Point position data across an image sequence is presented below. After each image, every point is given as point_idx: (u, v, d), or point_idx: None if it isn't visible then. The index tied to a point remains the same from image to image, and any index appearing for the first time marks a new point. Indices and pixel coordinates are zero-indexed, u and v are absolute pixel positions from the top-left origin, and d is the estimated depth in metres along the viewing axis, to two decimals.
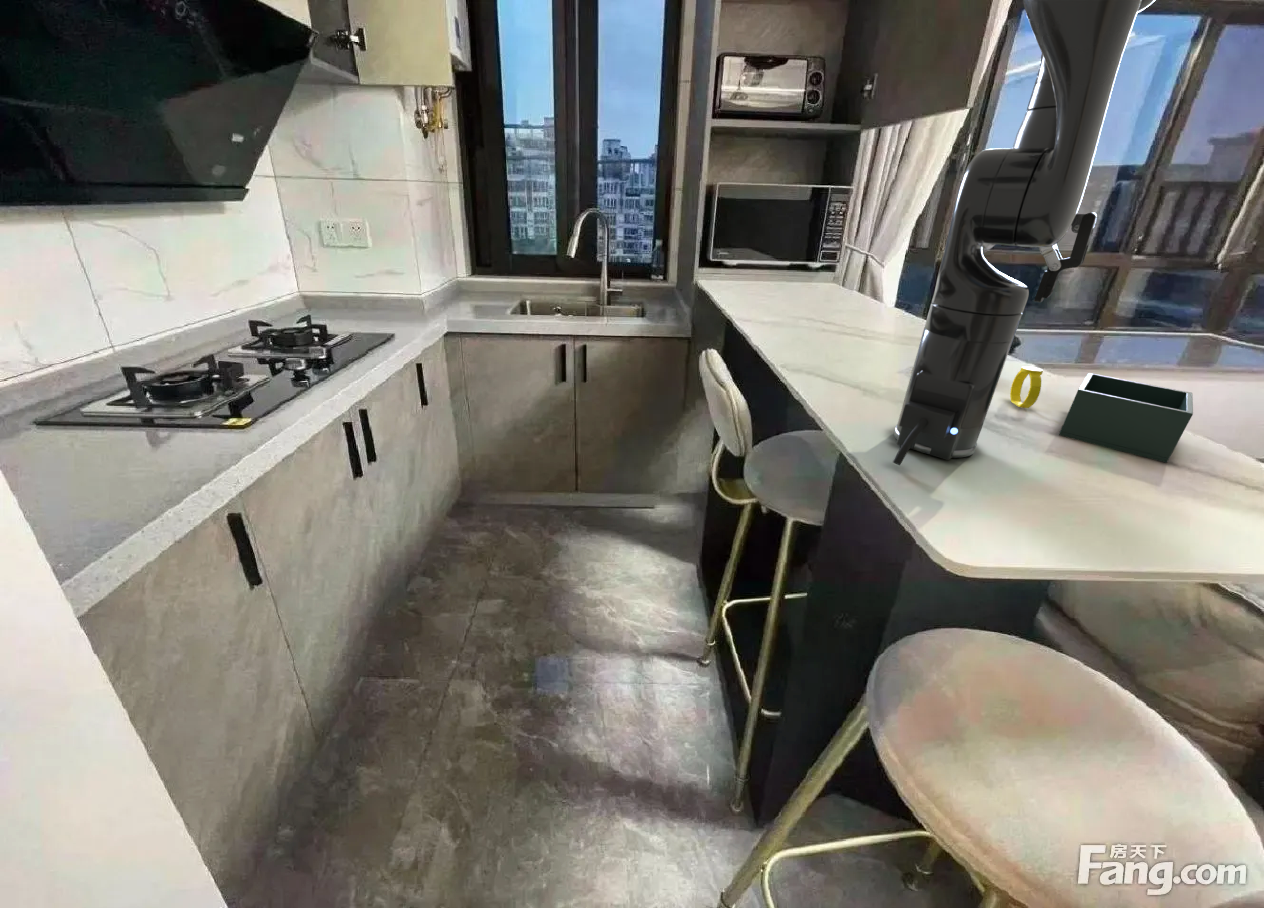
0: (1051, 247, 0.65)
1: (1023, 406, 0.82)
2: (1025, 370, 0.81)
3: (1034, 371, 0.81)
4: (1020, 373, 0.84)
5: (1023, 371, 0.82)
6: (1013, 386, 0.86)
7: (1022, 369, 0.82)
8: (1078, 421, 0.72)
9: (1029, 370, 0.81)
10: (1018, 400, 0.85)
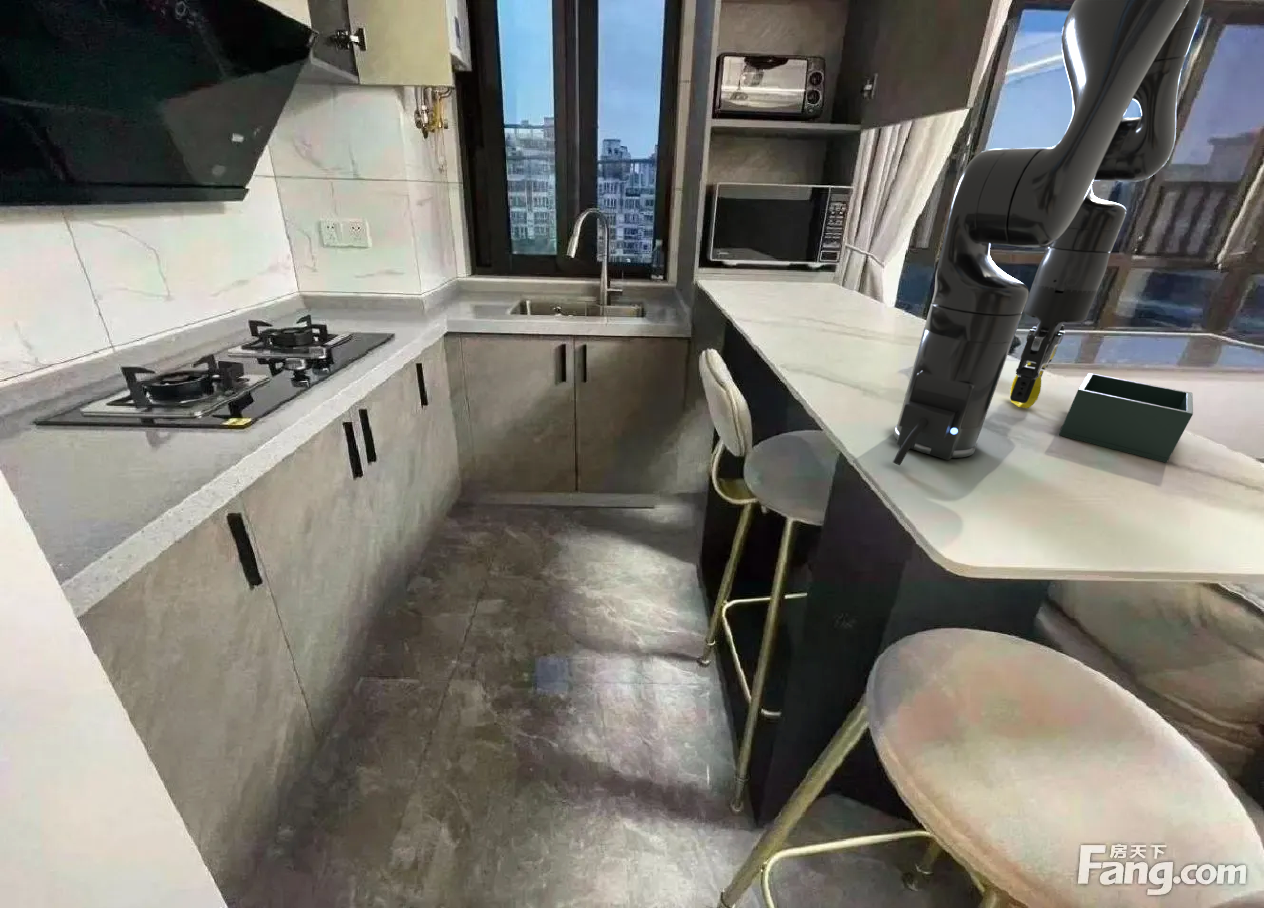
0: None
1: (1023, 406, 0.82)
2: None
3: None
4: None
5: None
6: (1013, 386, 0.86)
7: None
8: (1078, 421, 0.72)
9: None
10: None
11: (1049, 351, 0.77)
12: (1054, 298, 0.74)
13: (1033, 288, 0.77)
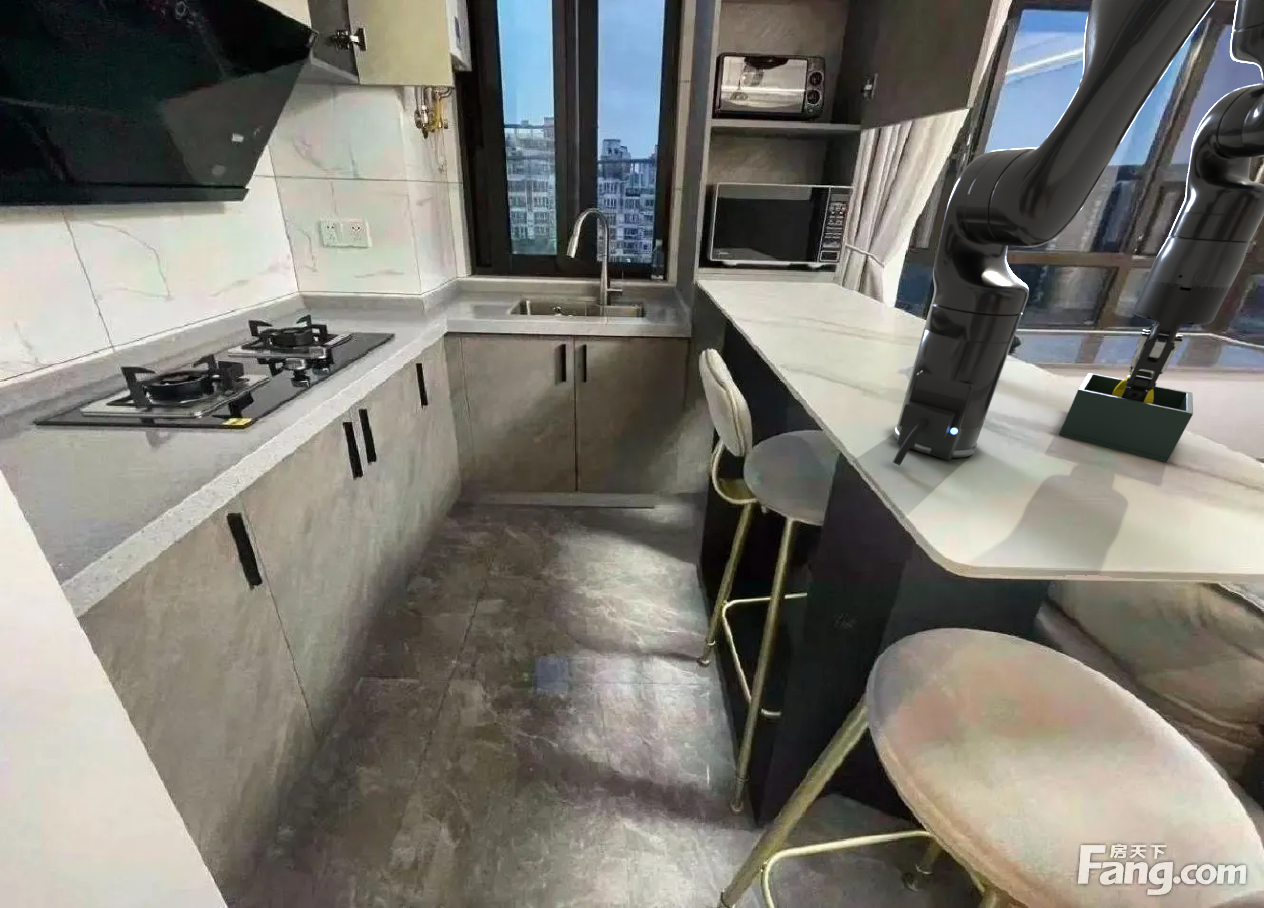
0: None
1: None
2: None
3: None
4: (1123, 383, 0.73)
5: None
6: None
7: None
8: (1078, 421, 0.72)
9: None
10: None
11: (1167, 358, 0.66)
12: (1178, 297, 0.64)
13: (1149, 284, 0.66)
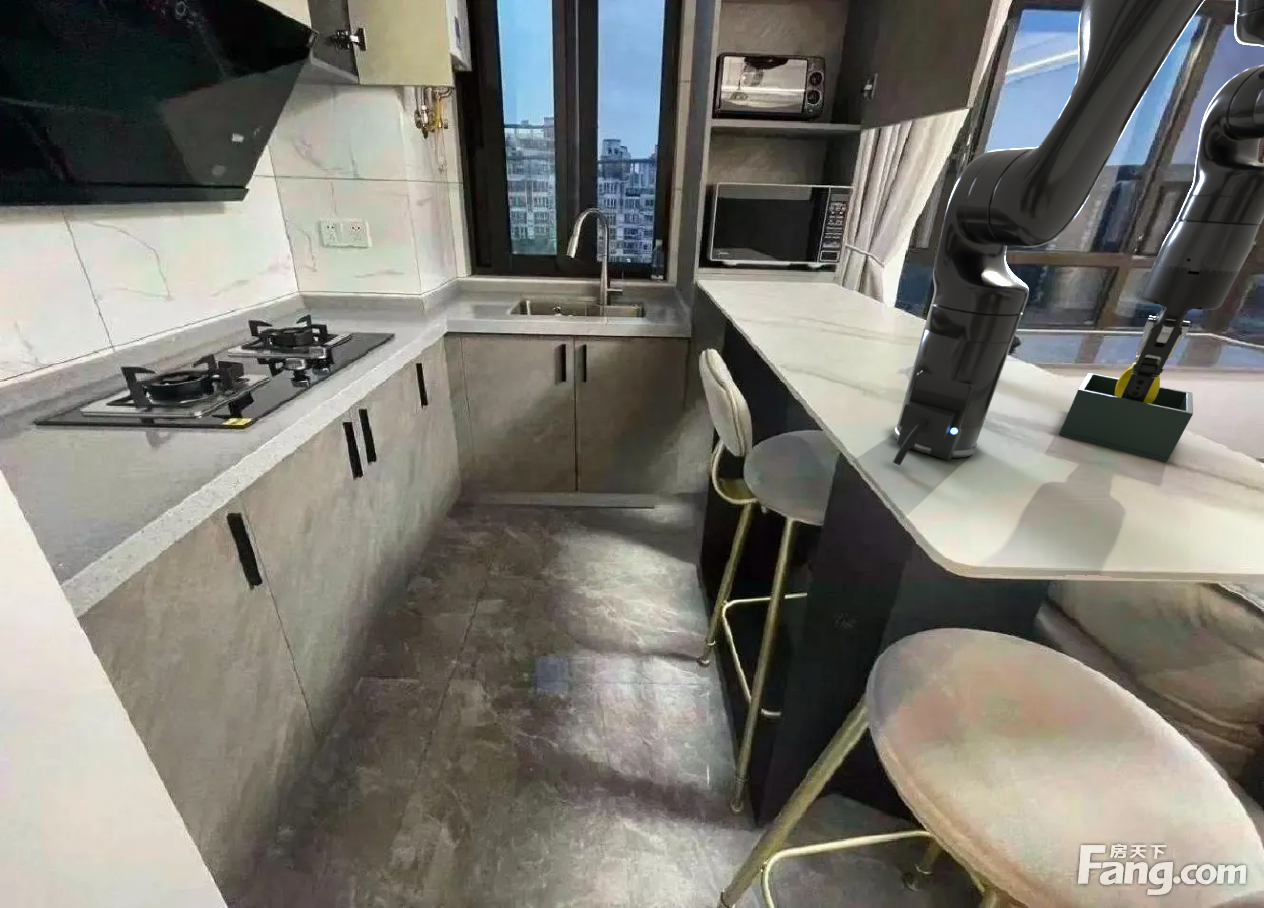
0: (1137, 349, 0.68)
1: None
2: None
3: None
4: (1129, 370, 0.72)
5: None
6: (1118, 385, 0.74)
7: None
8: (1078, 421, 0.72)
9: None
10: None
11: (1174, 344, 0.66)
12: (1186, 281, 0.63)
13: (1156, 269, 0.65)
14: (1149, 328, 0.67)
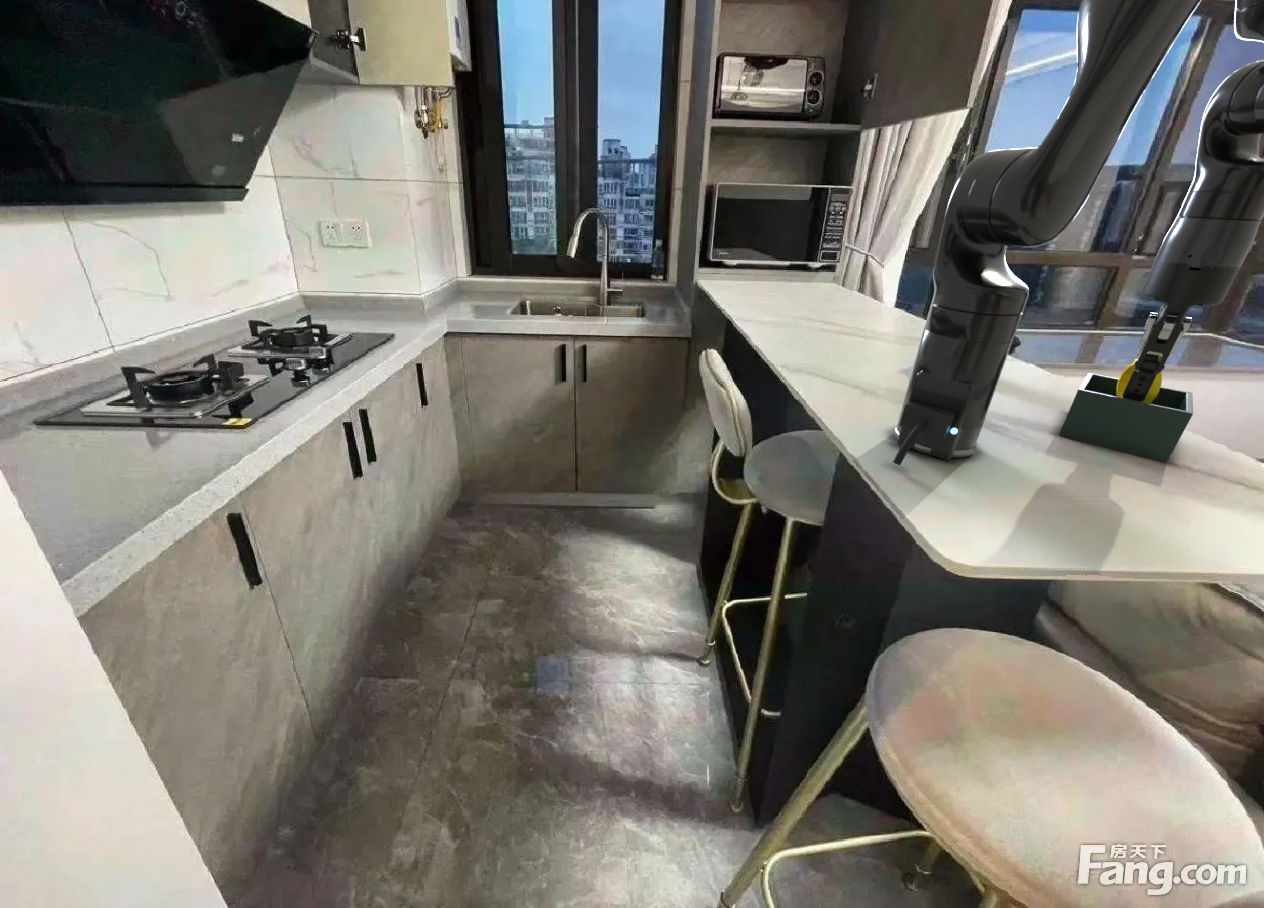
0: (1138, 346, 0.68)
1: None
2: None
3: None
4: (1131, 367, 0.72)
5: None
6: (1120, 382, 0.74)
7: None
8: (1078, 421, 0.72)
9: None
10: None
11: (1176, 340, 0.65)
12: (1187, 277, 0.63)
13: (1157, 265, 0.65)
14: (1150, 324, 0.67)
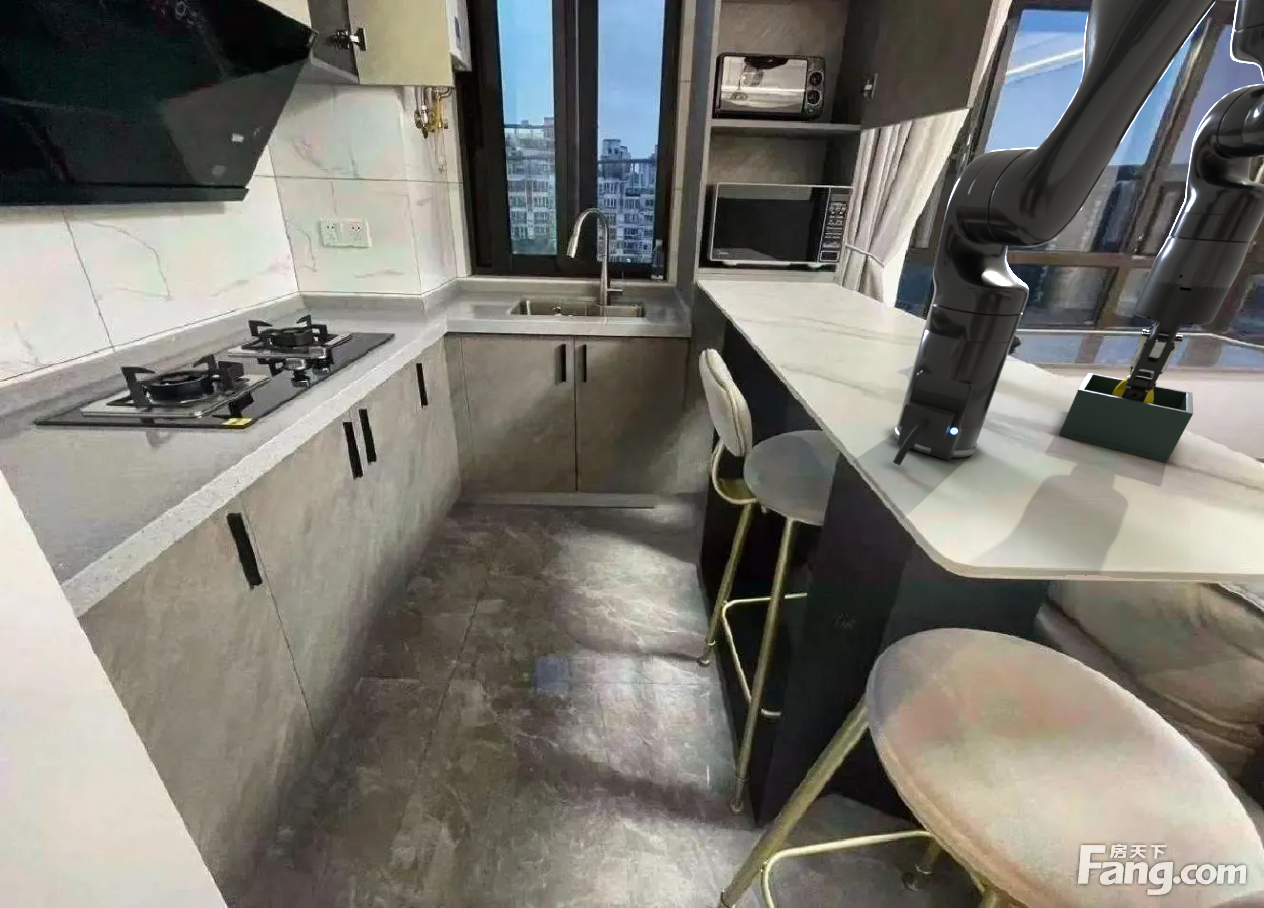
0: None
1: None
2: None
3: None
4: (1123, 383, 0.73)
5: None
6: None
7: None
8: (1078, 421, 0.72)
9: None
10: None
11: (1167, 358, 0.66)
12: (1178, 297, 0.64)
13: (1149, 284, 0.66)
14: (1142, 342, 0.68)
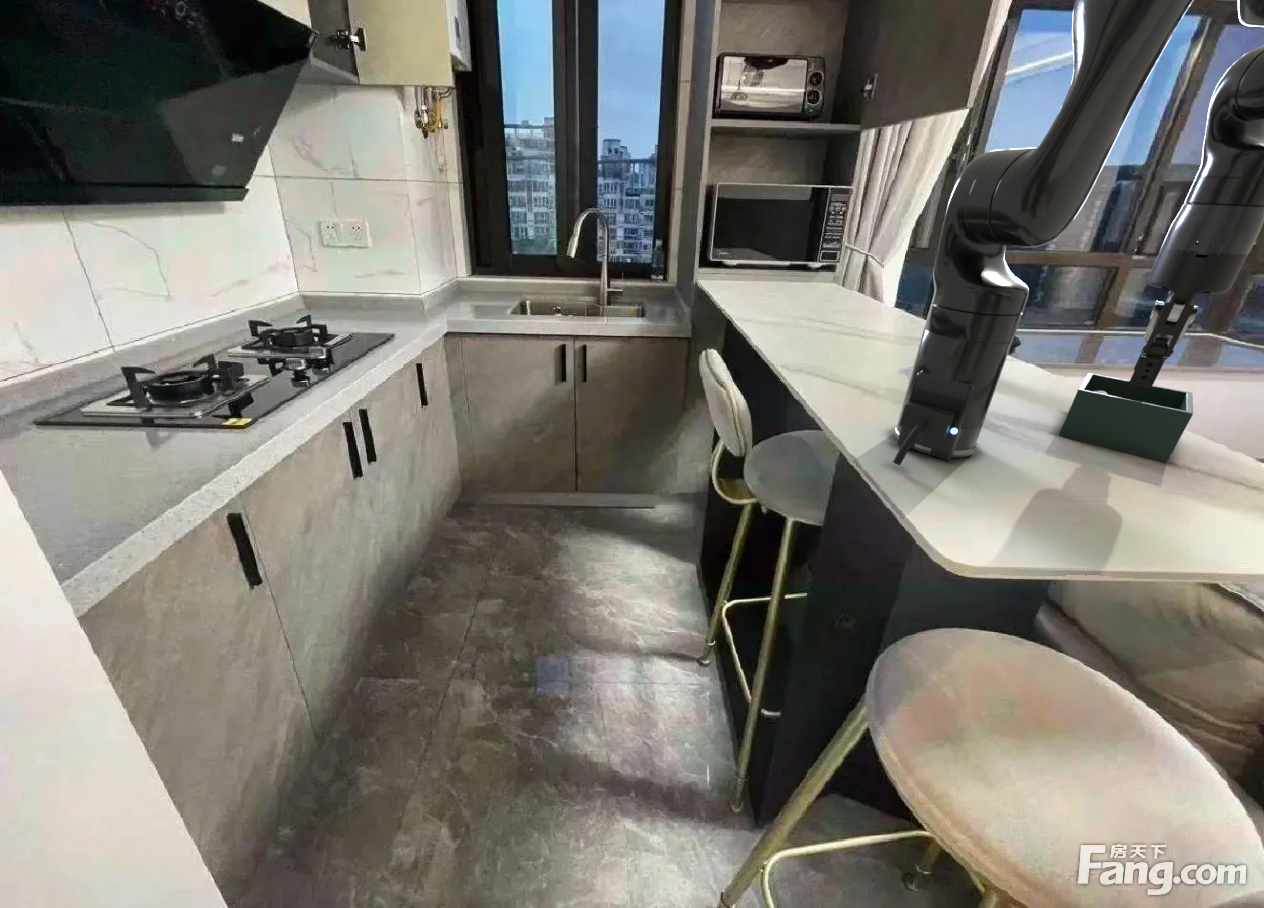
0: (1145, 332, 0.66)
1: None
2: None
3: None
4: None
5: None
6: None
7: None
8: (1078, 421, 0.72)
9: None
10: None
11: (1182, 329, 0.65)
12: (1194, 264, 0.62)
13: (1163, 253, 0.65)
14: (1156, 313, 0.66)
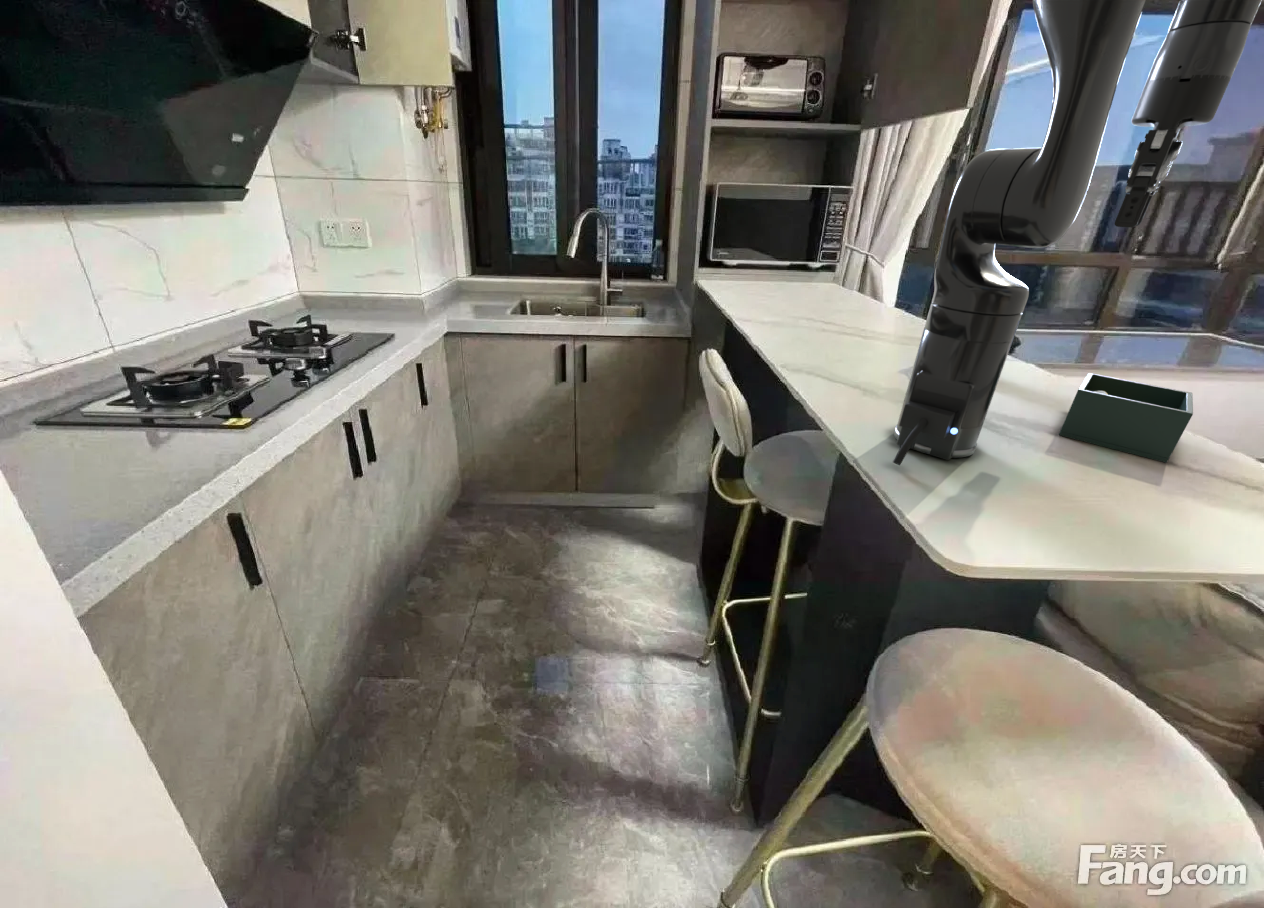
0: (1130, 169, 0.66)
1: None
2: None
3: None
4: None
5: None
6: None
7: None
8: (1078, 421, 0.72)
9: None
10: None
11: None
12: (1178, 90, 0.62)
13: (1147, 86, 0.65)
14: (1141, 150, 0.67)
